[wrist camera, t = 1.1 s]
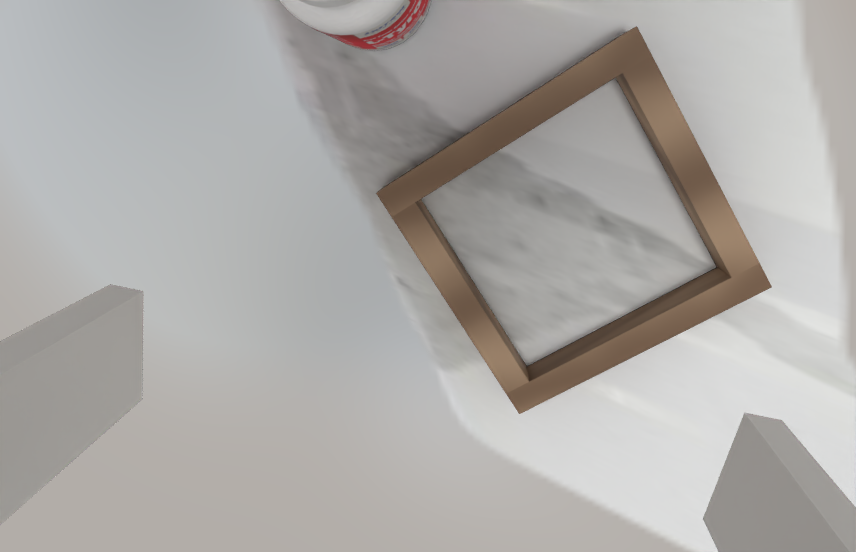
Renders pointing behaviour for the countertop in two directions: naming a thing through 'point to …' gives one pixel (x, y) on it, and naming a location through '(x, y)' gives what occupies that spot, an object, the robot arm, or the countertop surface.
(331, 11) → the pill bottle
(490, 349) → the brown wooden square frame
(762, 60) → the countertop surface
